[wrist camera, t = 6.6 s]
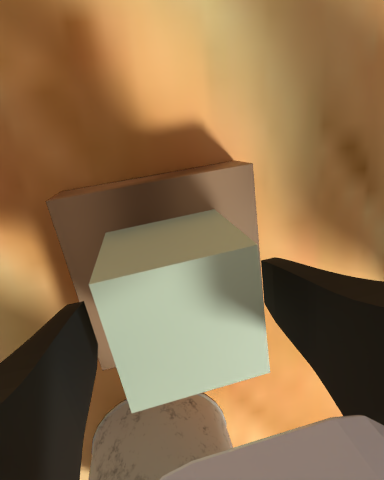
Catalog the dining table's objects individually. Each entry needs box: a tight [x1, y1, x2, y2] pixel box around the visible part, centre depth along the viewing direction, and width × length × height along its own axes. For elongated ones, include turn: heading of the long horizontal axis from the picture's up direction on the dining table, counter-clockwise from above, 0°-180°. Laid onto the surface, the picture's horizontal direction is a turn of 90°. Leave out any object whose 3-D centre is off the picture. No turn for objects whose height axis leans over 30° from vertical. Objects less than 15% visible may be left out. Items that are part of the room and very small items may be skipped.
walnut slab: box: [46, 161, 264, 371], centre depth 15 cm, size 9×9×2 cm
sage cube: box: [89, 209, 270, 413], centre depth 11 cm, size 5×5×5 cm
